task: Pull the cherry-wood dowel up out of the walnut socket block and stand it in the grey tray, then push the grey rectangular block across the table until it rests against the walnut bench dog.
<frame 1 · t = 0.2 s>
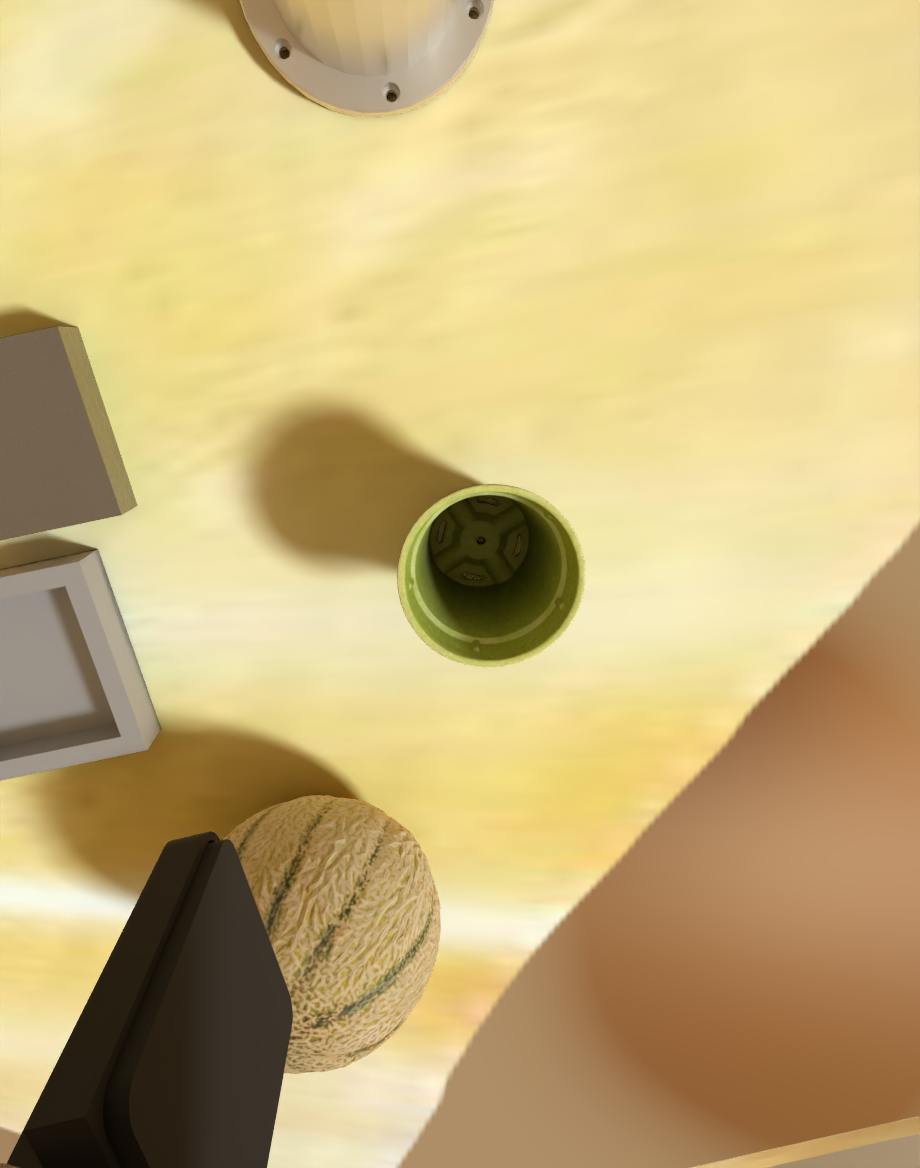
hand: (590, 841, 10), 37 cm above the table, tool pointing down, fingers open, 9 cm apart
grey rectangular block: (42, 433, 44), on the table
plant pot: (477, 537, 47), on the table
cantaloupe: (327, 846, 53), on the table
tray: (34, 662, 47), on the table
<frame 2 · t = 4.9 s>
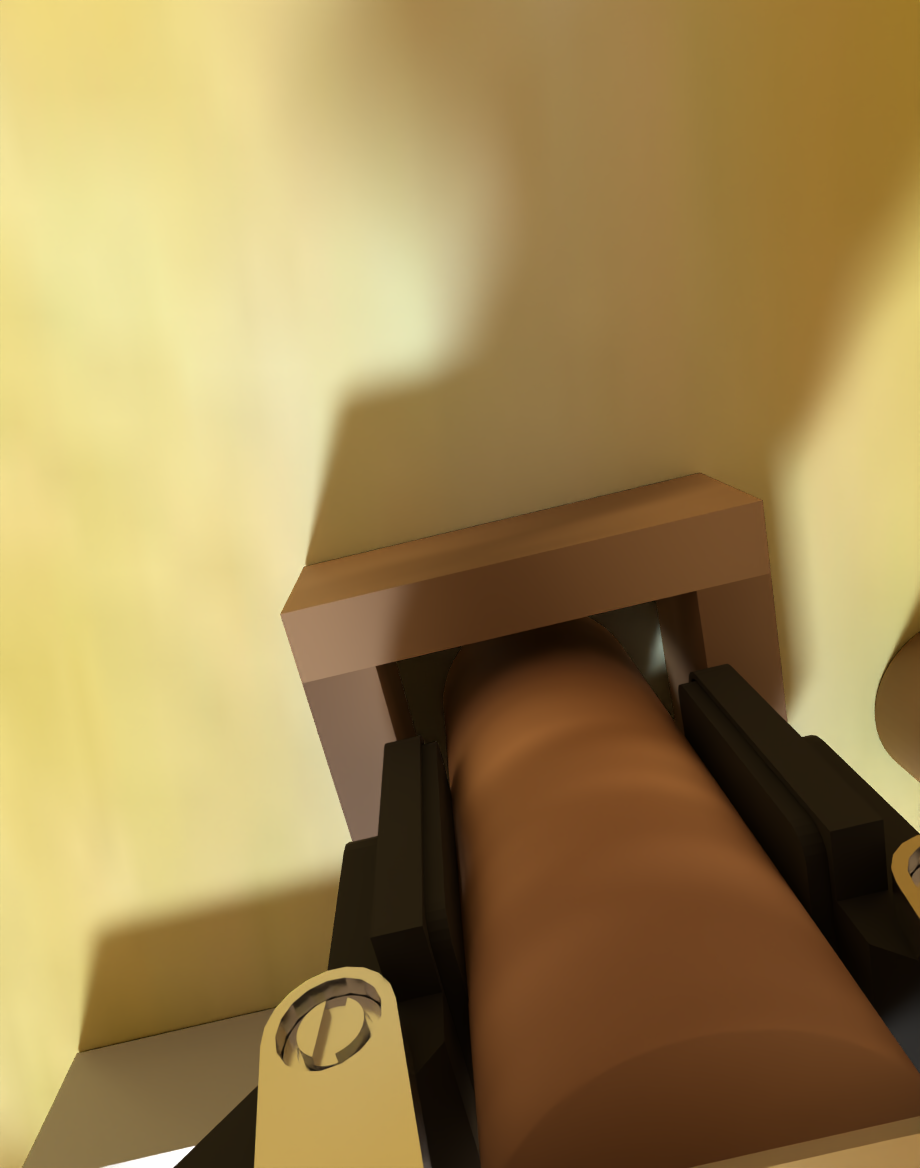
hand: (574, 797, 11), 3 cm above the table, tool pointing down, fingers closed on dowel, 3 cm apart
dowel: (593, 848, 10), in the socket block, touching gripper
socket block: (540, 699, 14), on the table
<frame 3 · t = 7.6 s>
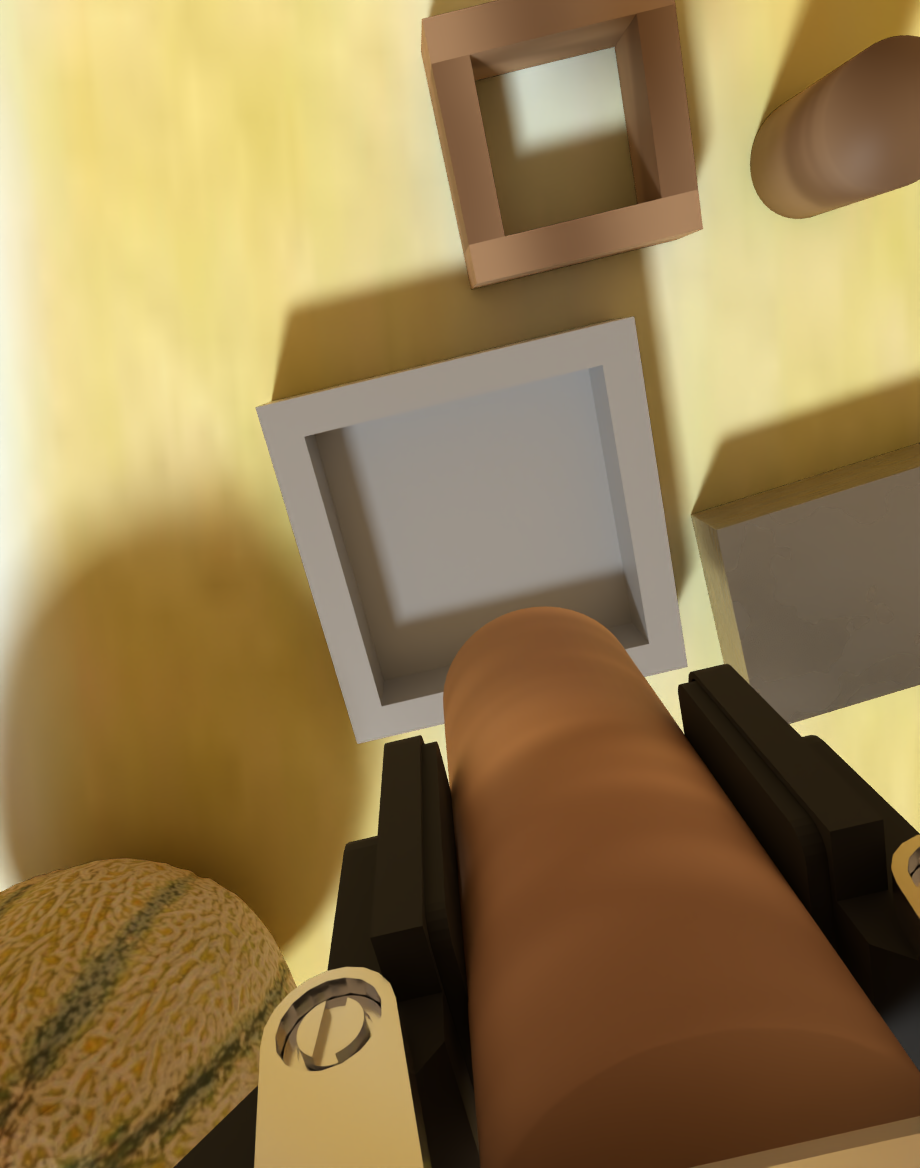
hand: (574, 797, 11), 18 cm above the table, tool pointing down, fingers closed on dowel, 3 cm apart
grey rectangular block: (833, 570, 30), on the table
bench dog: (804, 158, 25), on the table
dowel: (593, 847, 10), point 19 cm above the table, touching gripper
socket block: (553, 149, 25), on the table
cantaloupe: (159, 933, 33), on the table
tray: (479, 527, 28), on the table
when the fingers open (5 cm above the table, at t = 10.5 s): dowel drops 1 cm, resting on tray.
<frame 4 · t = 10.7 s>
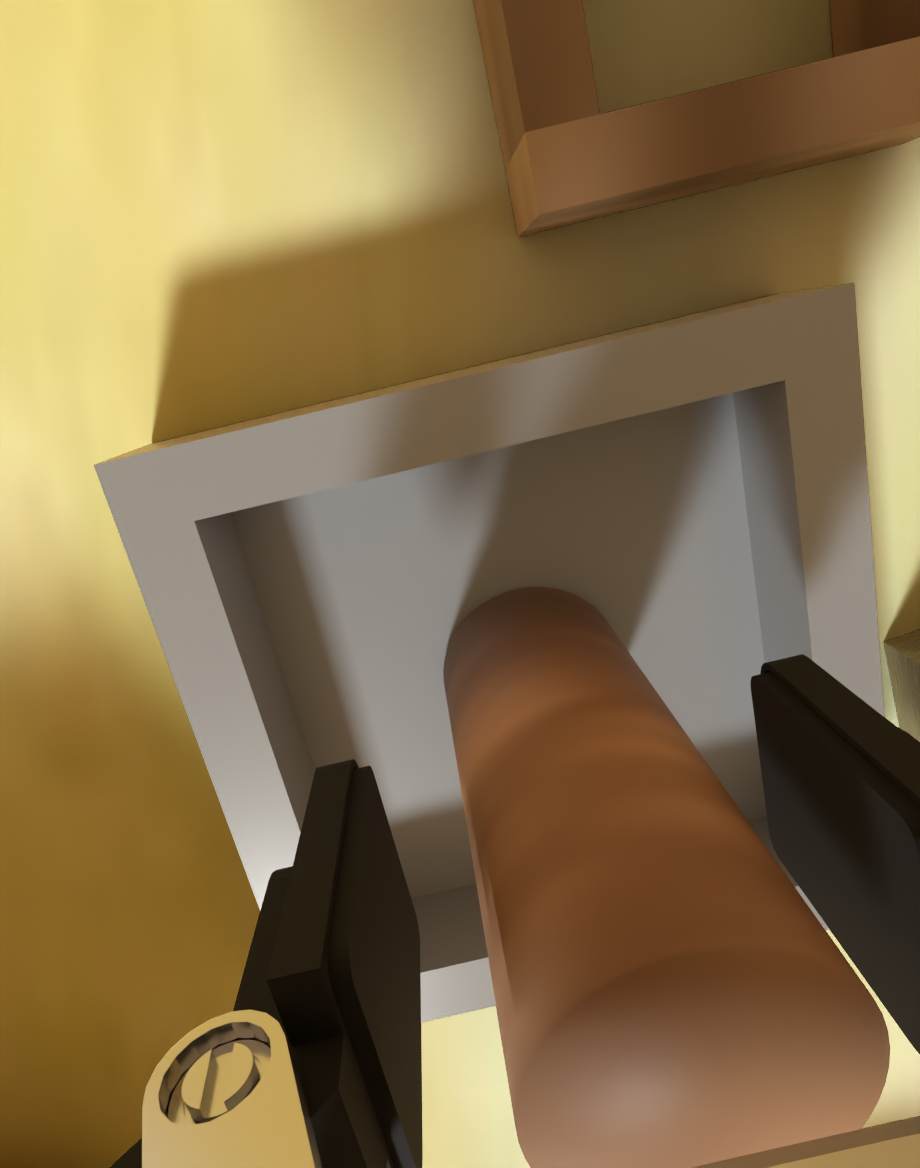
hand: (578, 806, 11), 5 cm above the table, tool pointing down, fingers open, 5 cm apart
dowel: (586, 804, 11), in the tray
tray: (525, 658, 16), on the table
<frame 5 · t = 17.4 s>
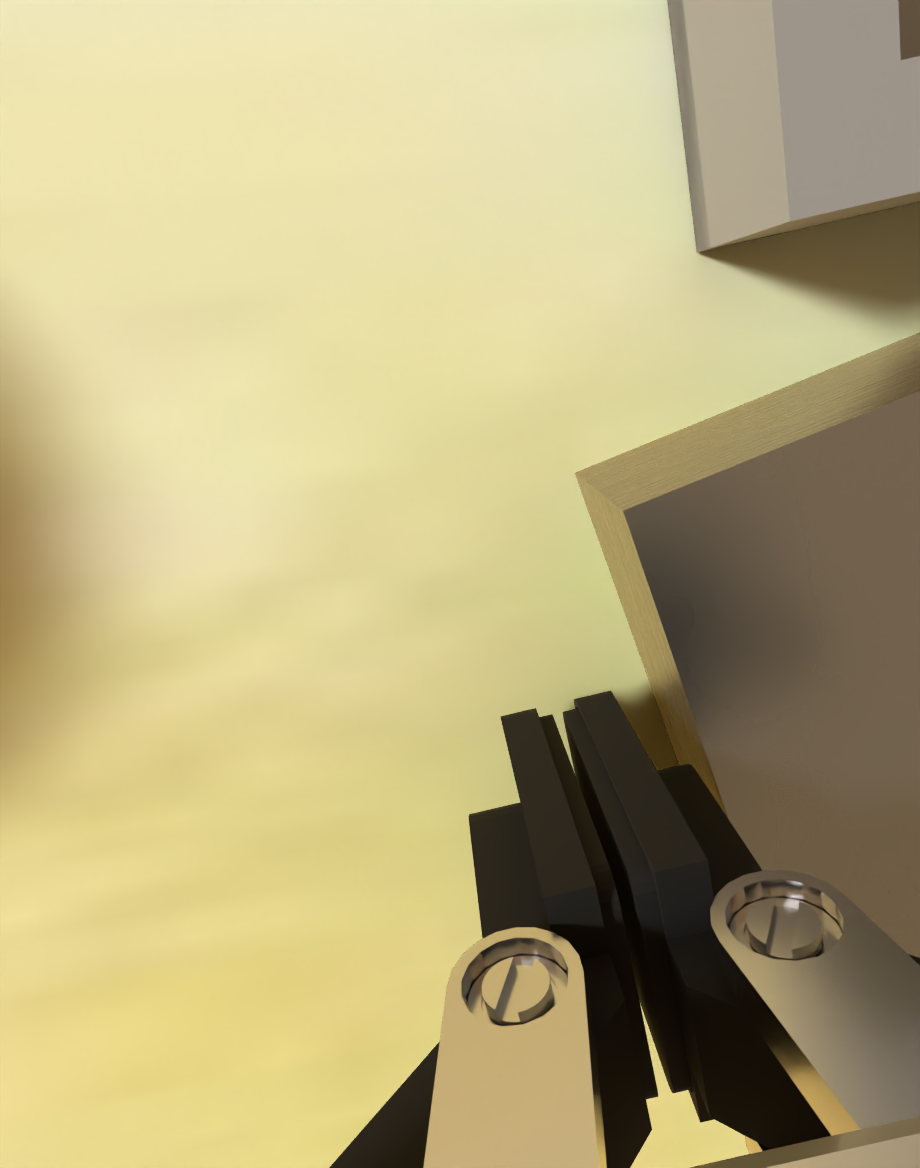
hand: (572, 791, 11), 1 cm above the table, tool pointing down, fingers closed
grey rectangular block: (897, 657, 13), on the table
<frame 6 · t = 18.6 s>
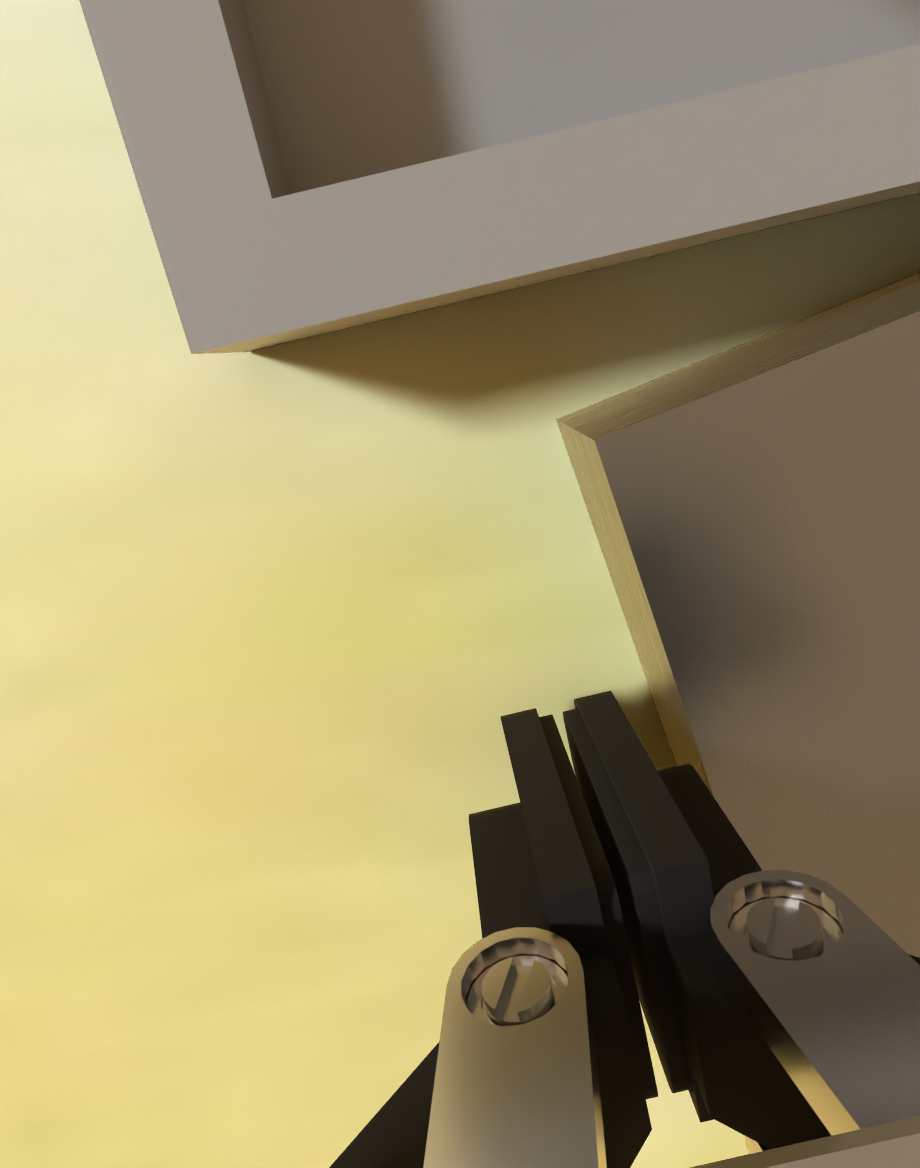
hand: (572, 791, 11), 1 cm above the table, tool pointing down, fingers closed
grey rectangular block: (879, 612, 13), on the table
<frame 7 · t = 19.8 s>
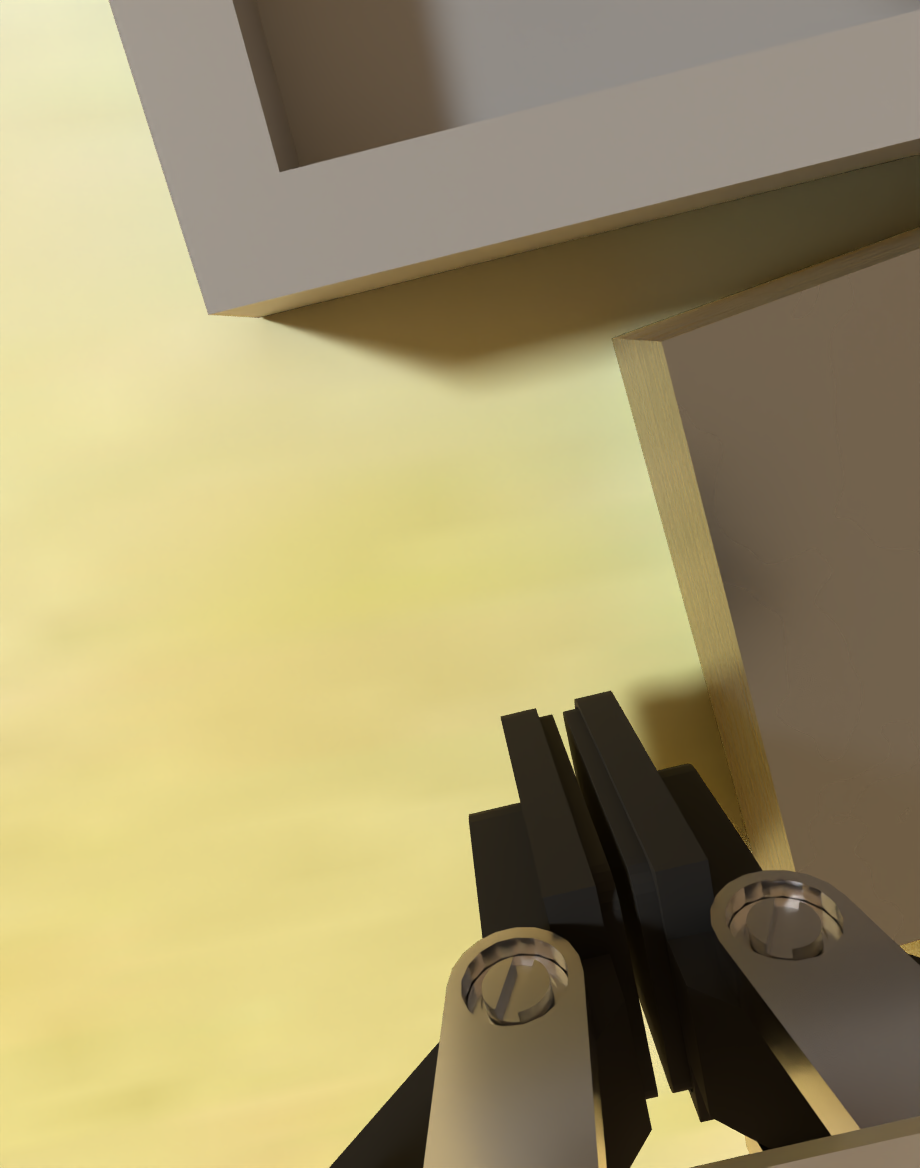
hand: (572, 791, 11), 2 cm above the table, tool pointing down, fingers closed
grey rectangular block: (909, 546, 13), on the table
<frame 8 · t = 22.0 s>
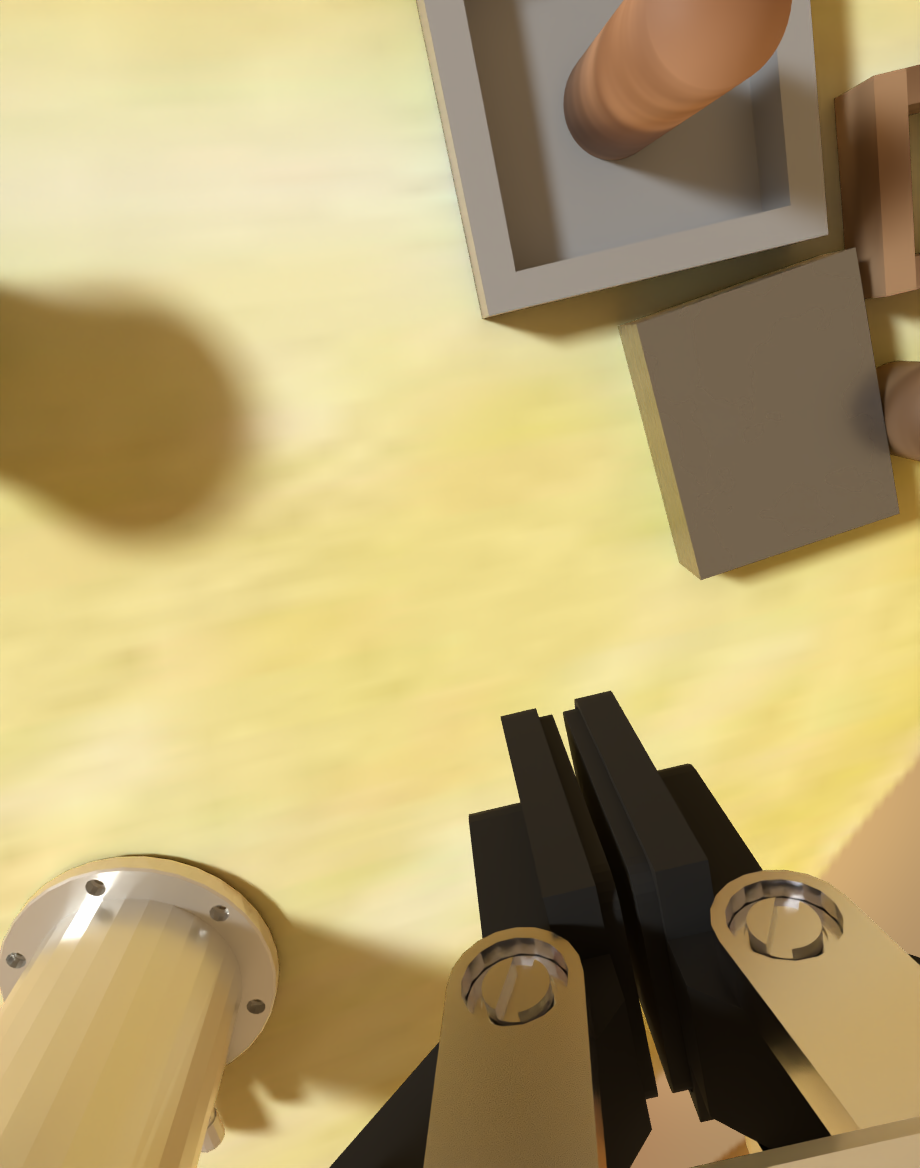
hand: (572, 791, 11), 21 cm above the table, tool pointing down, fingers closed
grey rectangular block: (741, 416, 32), on the table
bench dog: (893, 407, 31), on the table
dowel: (657, 61, 23), in the tray
tray: (610, 105, 28), on the table
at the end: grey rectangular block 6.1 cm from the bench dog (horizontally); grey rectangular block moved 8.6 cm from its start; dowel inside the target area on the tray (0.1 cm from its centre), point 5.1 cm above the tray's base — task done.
